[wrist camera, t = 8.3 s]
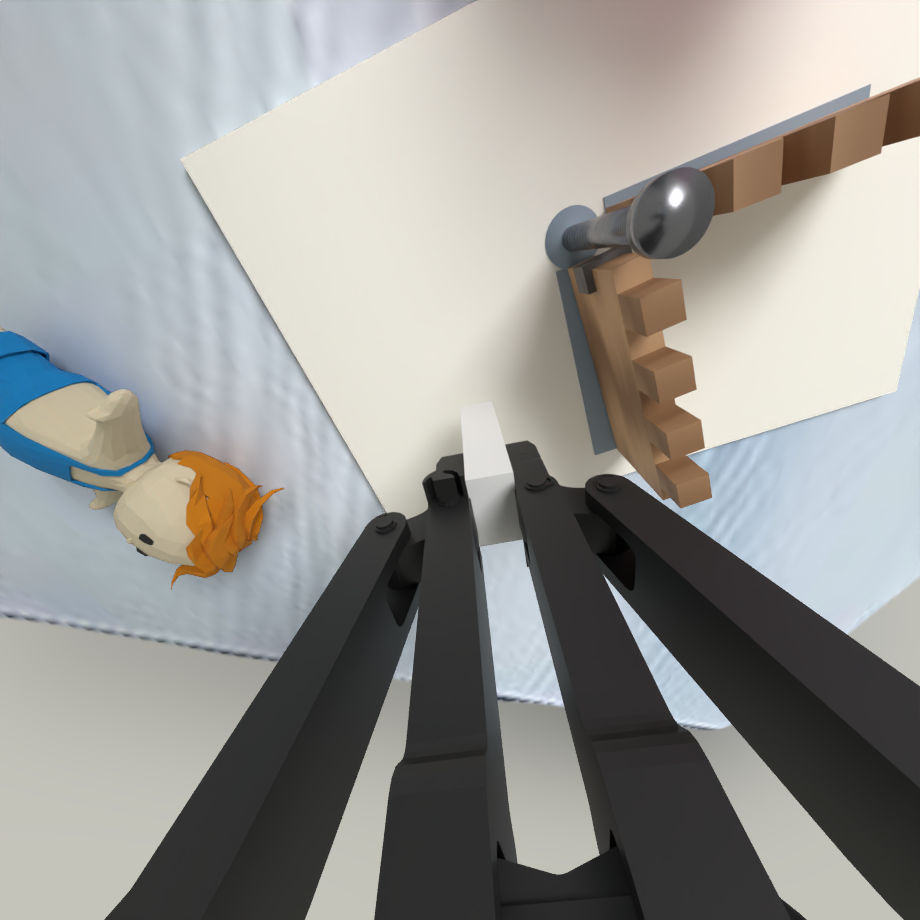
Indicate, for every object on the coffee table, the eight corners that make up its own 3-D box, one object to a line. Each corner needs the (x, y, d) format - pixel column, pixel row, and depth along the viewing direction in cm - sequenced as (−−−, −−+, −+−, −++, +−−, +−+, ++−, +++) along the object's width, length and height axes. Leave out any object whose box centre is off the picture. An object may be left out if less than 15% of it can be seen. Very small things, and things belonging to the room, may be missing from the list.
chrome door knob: (547, 224, 15) (632, 187, 8) (589, 206, 15) (714, 152, 8) (557, 268, 16) (641, 270, 9) (596, 252, 16) (715, 241, 9)
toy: (-211, 266, 10) (237, 573, 14) (37, 234, 15) (326, 475, 19) (-81, 450, 18) (188, 617, 22) (57, 392, 22) (260, 540, 26)
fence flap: (559, 267, 16) (621, 267, 10) (599, 247, 16) (687, 237, 10) (612, 451, 20) (676, 525, 15) (643, 439, 20) (721, 510, 14)
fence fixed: (609, 239, 16) (702, 224, 10) (604, 208, 15) (701, 172, 9) (862, 137, 14) (1148, 47, 8) (866, 98, 14) (1176, -27, 8)
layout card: (186, 161, 14) (178, 158, 14) (1034, -290, 10) (1060, -315, 10) (404, 538, 24) (404, 543, 23) (888, 389, 20) (897, 391, 19)
